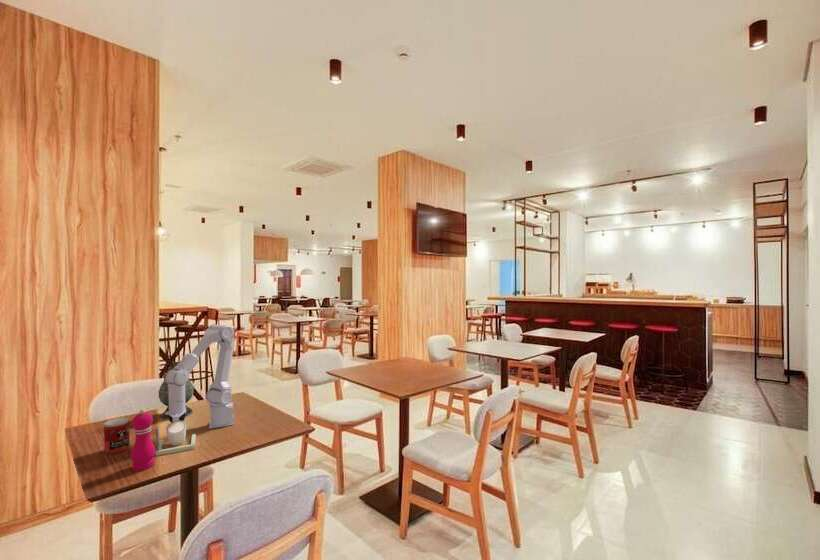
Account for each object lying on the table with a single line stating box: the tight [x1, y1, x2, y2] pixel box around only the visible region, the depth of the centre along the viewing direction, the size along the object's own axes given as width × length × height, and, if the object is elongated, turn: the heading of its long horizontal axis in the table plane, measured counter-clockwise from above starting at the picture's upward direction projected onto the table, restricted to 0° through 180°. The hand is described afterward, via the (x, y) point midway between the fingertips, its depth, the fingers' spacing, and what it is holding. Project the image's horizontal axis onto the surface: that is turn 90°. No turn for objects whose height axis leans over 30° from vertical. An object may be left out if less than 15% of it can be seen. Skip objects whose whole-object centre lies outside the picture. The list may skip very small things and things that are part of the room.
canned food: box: [103, 417, 130, 455], centre depth 149 cm, size 8×8×11 cm
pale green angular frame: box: [150, 427, 197, 457], centre depth 151 cm, size 15×12×10 cm
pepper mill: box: [129, 408, 157, 472], centre depth 136 cm, size 7×7×20 cm
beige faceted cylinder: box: [165, 421, 187, 447], centre depth 153 cm, size 7×7×7 cm
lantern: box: [158, 361, 195, 421], centre depth 187 cm, size 14×14×25 cm
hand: (177, 433), depth 156 cm, fingers closed, pressing on beige faceted cylinder
